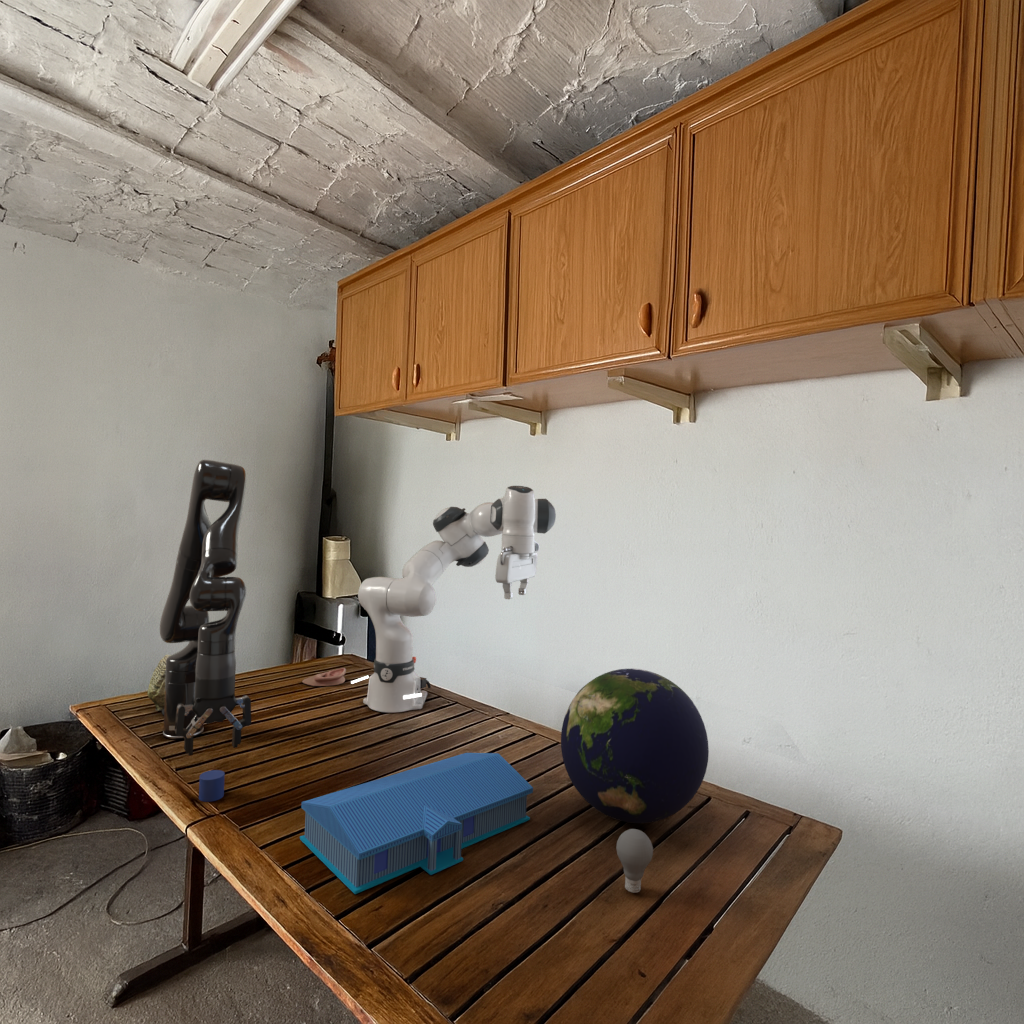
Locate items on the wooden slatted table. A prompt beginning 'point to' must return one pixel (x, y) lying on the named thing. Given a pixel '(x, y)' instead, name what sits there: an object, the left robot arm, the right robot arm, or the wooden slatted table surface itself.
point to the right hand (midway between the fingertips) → (515, 596)
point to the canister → (211, 785)
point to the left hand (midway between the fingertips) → (212, 750)
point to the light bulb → (634, 857)
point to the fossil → (158, 684)
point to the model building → (414, 818)
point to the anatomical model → (326, 678)
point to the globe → (634, 745)
